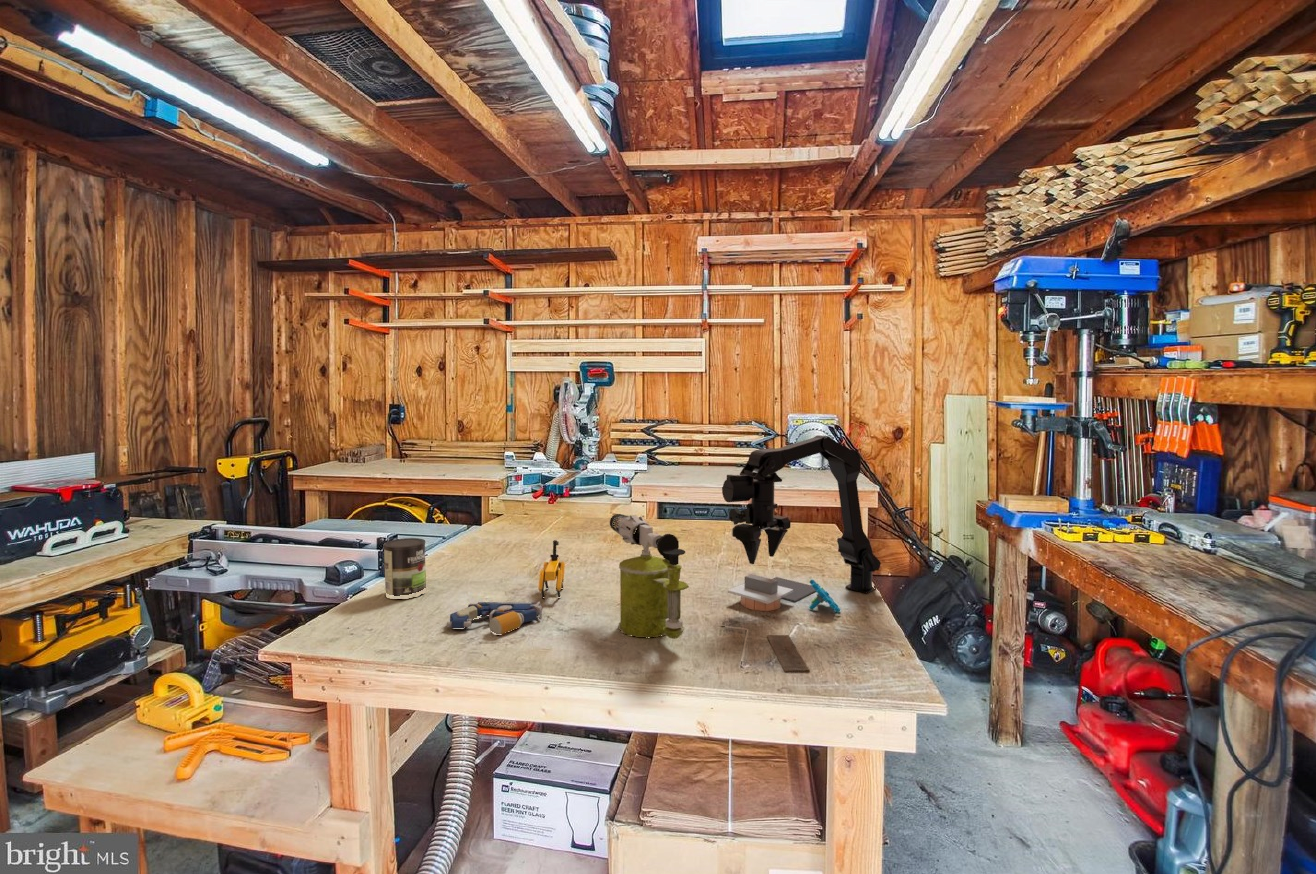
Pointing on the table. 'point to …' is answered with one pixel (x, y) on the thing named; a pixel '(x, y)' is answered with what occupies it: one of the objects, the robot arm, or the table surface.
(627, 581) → the blowtorch
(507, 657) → the table surface
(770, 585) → the lid
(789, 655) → the wooden plank
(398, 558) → the coffee can
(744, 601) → the dish
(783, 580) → the mat
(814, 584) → the gear
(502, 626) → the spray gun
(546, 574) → the robot dog
